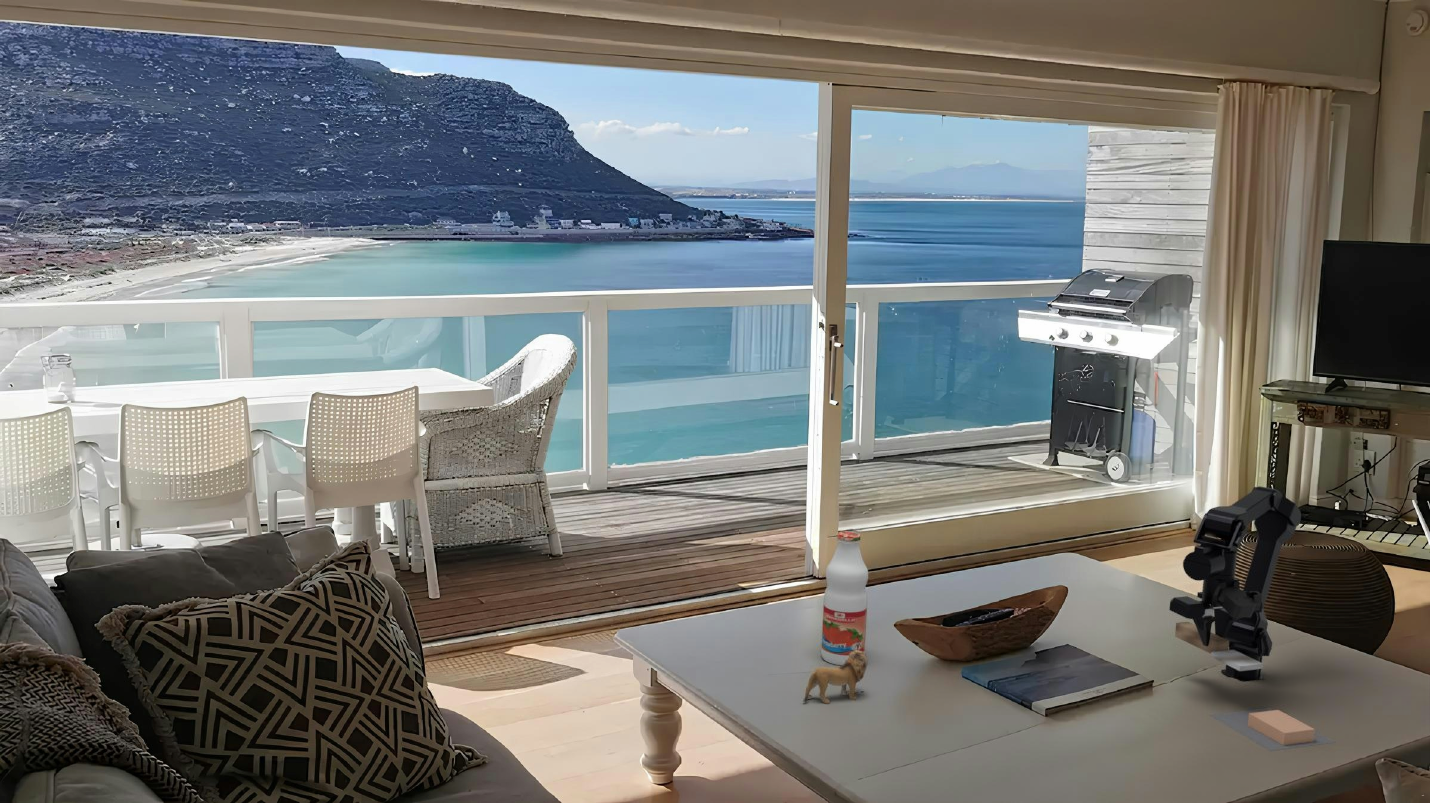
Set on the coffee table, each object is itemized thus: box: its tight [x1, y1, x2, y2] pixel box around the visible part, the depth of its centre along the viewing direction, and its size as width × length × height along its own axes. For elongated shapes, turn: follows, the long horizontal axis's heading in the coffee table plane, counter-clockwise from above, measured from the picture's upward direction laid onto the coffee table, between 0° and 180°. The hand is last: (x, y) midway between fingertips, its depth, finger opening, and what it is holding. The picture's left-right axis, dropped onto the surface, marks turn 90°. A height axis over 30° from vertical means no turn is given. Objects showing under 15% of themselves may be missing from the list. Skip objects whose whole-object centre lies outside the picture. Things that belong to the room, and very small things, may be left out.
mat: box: [1209, 707, 1336, 752], centre depth 221 cm, size 15×16×1 cm
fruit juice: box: [820, 530, 869, 666], centre depth 249 cm, size 9×9×28 cm
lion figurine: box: [802, 650, 868, 704], centre depth 229 cm, size 15×5×9 cm, turn 119°
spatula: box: [1174, 621, 1264, 671], centre depth 235 cm, size 20×6×3 cm, turn 18°
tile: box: [1248, 709, 1316, 745], centre depth 219 cm, size 7×2×9 cm
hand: (1212, 644), depth 236 cm, fingers closed on spatula, 3 cm apart
